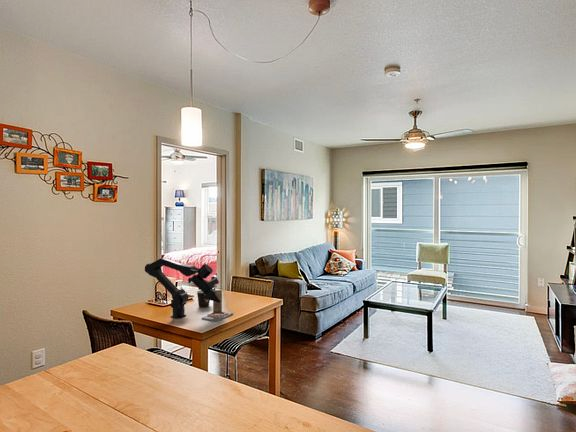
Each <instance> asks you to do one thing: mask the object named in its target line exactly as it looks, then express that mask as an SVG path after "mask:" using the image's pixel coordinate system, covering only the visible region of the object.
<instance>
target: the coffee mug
mask: <svg viewBox="0 0 576 432" xmlns="http://www.w3.org/2000/svg"><path fill="white" fill-rule="evenodd" d="M196 293H197V294H196V296H197V301H198V302H197V303H198V308H200V309H206V308H209V307H210V301H211V300H206V299H205V298H204V294H203V292H202V291H201V290H197V291H196Z"/></svg>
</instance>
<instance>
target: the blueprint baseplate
mask: <svg viewBox="0 0 576 432" xmlns="http://www.w3.org/2000/svg"><path fill="white" fill-rule="evenodd" d="M233 315H234V312H230V311H224V310H222V313H219V314H214V313H213V311H212V312H209V313H207V315H205V316H202V317H201V320H204V321H209V322H215V323H218V322H220V321H221V320H224V319H227V318H228V317H231V316H233Z"/></svg>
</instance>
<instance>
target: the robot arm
mask: <svg viewBox="0 0 576 432" xmlns="http://www.w3.org/2000/svg"><path fill="white" fill-rule="evenodd" d="M162 267H166V268H170V269H173V270H176V271H178V272H180V273H181V274H182V275H183V276H185V277H188V278H187V284H190V283H192V284H194V286H196V287H197V289H198V291H200V290H201V291H202V292H203V294H204V298H205V299H206V300H210V301H212V302H213V301H215V302H218V303H220V302H221V301H220V300H219V299H218V297H217V296H216V295H215V291H214V290H216V285H218V284H219V283H220V281H219V279H218V277H217V276H211V279H210V280H207V278H208V277H209V276H210V275H211V274H212V273H213V272H214V269H213V268H212V267H211V266H209V265H208V264H207V263H203V264H202V265H201V266H200V268H199V267H196V266H195V265H193V264H186V263H185V264H184V263H180V262H178V261H175V260H172V259H169V258H166V257H162V258H161V257H160V258H159V259H158V260H155V261H154V262H151V263H150V262H149V263H146V264H145V266H144V271H145V273H146V274H147V275H149V276H151V277H154V279H156V280H157V281H158V282H159V283H160V285H162V287H164V288H165V290H166V291H168V293H169V294H170V296H171V300H172V301H171V303H170V305H169V306H170V308H172V315H171V316H170V318H173V319H180V318H183V317H186V316H187V314H185V306H186V304H187V302H188V301H189V295H188V292H187V291H185V289H184V288H181V289H179V288H178V287H177V286H176V285H175V284H174V282H172V281H171V280H170V279H169V278H168V277H167V275H165V274H164V273H163V271H162Z"/></svg>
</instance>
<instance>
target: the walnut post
mask: <svg viewBox="0 0 576 432" xmlns="http://www.w3.org/2000/svg"><path fill="white" fill-rule="evenodd" d="M214 291H215V295H216V296H217V297H218V299H219V300H220V301H221V302H220V303H218V302H215V301H212V304H213V305H212V312H213V313H214V314H219V313H222V311H223V290H222V289H215V290H214Z"/></svg>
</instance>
